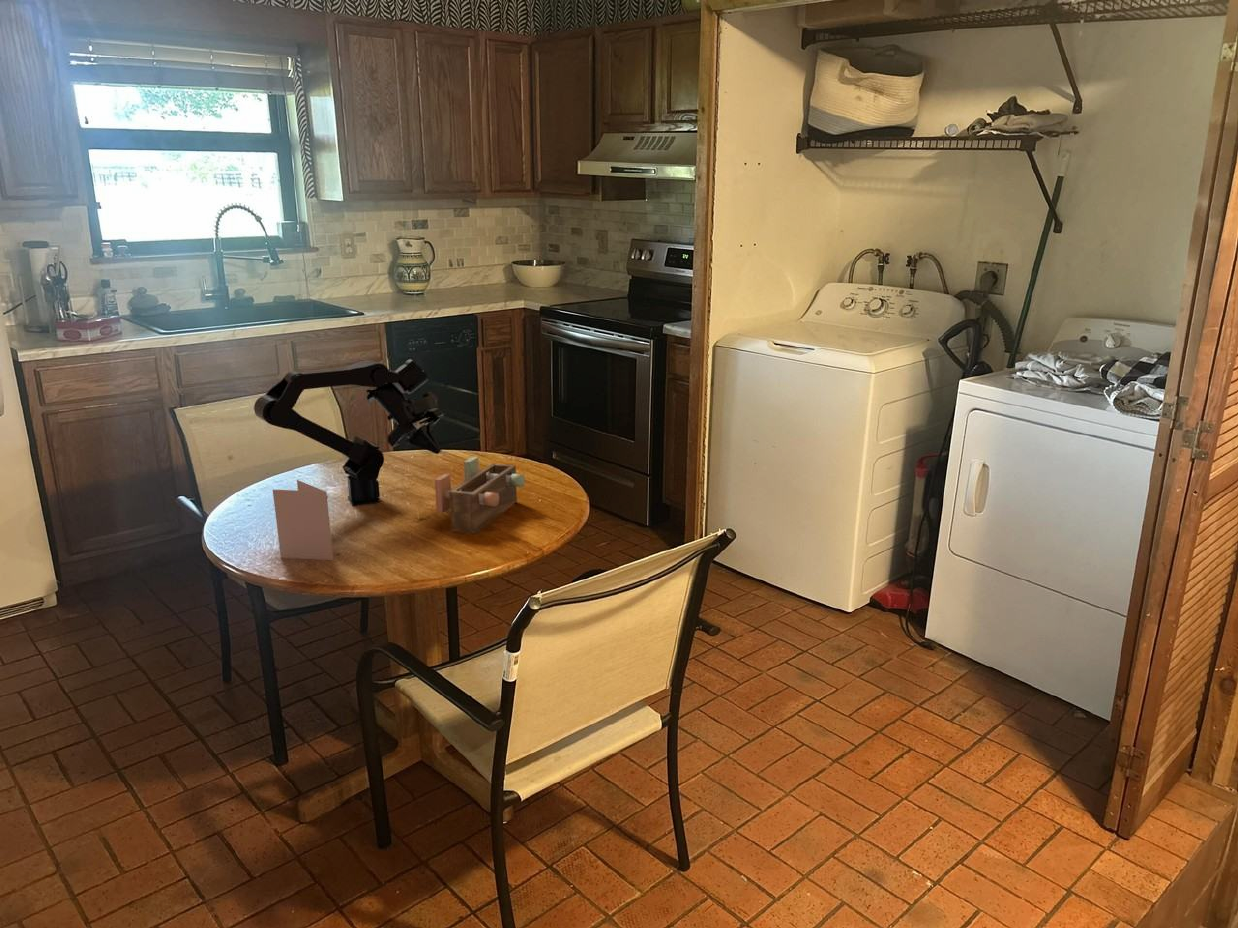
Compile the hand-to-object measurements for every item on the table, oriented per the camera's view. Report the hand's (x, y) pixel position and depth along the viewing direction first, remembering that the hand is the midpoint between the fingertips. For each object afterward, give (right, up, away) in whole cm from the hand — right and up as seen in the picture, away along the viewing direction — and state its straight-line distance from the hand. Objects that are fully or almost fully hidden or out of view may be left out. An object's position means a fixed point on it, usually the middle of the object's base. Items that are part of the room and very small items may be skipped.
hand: (439, 452), depth 222 cm
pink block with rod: (+10, -14, -15) cm, 22 cm away
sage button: (+14, -10, -2) cm, 17 cm away
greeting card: (-22, -22, -31) cm, 44 cm away
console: (+12, -15, -8) cm, 21 cm away
